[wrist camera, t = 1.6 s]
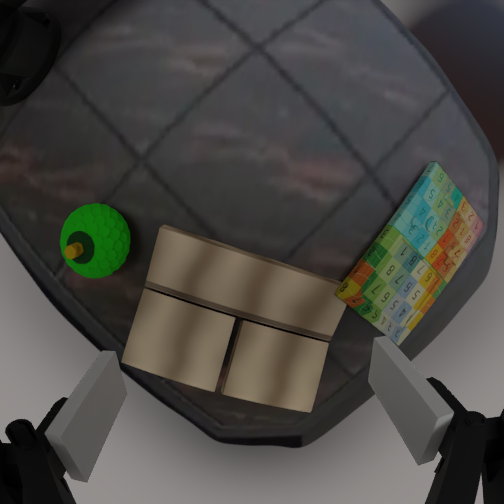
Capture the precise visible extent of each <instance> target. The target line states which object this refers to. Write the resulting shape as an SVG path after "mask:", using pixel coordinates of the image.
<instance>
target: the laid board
mask: <svg viewBox="0 0 504 504" xmlns="http://www.w3.org/2000/svg"><path fill="white" fill-rule="evenodd" d="M341 284H342V282H340V281H337V280H334V279H331V278H328V277H325V276H322V275H319V274H316V273H313V272H309V271H306V270H303V269H300V268H297V267H294V266H291V265H288V264H285V263H282V262H279V261H276V260H273V259H270V258H266V257H263V256H260V255H257V254H254V253H251V252H248V251H245V250H242V249H239V248H236V247H233V246H230V245H227V244H224V243H220V242H217V241H214V240H211V239H208V238H205V237H202V236H199V235H196V234H193V233H190V232H187V231H184V230H181V229H178V228H174V227H171V226H168V225H163V226H161V227H160V229H159V233H158V236H157V240H156V244H155V248H154V251H153V255H152V259H151V263H150V267H149V271H148V275H147V279H146V282H145V286H147V287H150V288H153V289H156V290H159V291H162V292H164V293H167V294H170V295H173V296H176V297H179V298H182V299H185V300H189V301H192V302H195V303H198V304H201V305H204V306H207V307H210V308H214V309H217V310H220V311H223V312H227V313H230V314H233V315H237V316H240V317H243V318H247V319H250V320H253V321H257V322H260V323H264V324H267V325H271V326H275V327H278V328H282V329H285V330H289V331H293V332H297V333H300V334H304V335H308V336H312V337H316V338H320V339H323V340H327V341H331V339H332V336H333V334H334V332H335V330H336V327H337V325H338V323H339V321H340V319H341V316H342V314H343V312H344V310H345V308H346V305H347V304H345V303H344V302H343V301H342V300H340V299H339V298H338V297H337V296H336V295H335V294H334V293H335V292H336V290H337V288H338V287H339V286H340V285H341Z"/></svg>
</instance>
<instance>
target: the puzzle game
mask: <svg viewBox="0 0 504 504" xmlns="http://www.w3.org/2000/svg"><path fill="white" fill-rule="evenodd" d="M483 227H484V223H483V222H482V220H481V219H480V217H479V216H478V215H477V213H476V212H475V210H474V209H473V208H472V206H471V205H470V203H469V202H468V201H467V199H466V198H465V197H464V195H463V194H462V193H461V191H460V190H459V189H458V187H457V186H456V185H455V184H454V182H453V181H452V180H451V178H450V177H449V176H448V175H447V174H446V172H445V171H444V170H443V169H442V167H441V166H440V165H439V164H438V163H437V162H436V161H432V162H430V163H429V164H428V166H427V167H426V169H425V170H424V172H423V173H422V175H421V176H420V177H419V179H418V180H417V182H416V183H415V185H414V186H413V188H412V189H411V191H410V192H409V194H408V195H407V196H406V198H405V199H404V201H403V202H402V204H401V205H400V206H399V208H398V209H397V211H396V212H395V213H394V215H393V216H392V218H391V219H390V220H389V222H388V223H387V224H386V226H385V227H384V229H383V230H382V231H381V233H380V234H379V235H378V237H377V238H376V239H375V241H374V242H373V243H372V245H371V246H370V247H369V248H368V250H367V251H366V252H365V254H364V255H363V256H362V258H361V259H360V260H359V261H358V263H357V264H356V265H355V266H354V268H353V270H352V271H351V272H350V274H349V275H348V276H347V277H346V279H345V280H344V281H343V282H342V284H341V285H340V286H339V287H338V288H337V290H336V292H335V293H334V294H335V295H336V296H337V297H338V298H339V299H340V300H342V301H343V302H344V303H345V304H347V305H348V306H349V307H350V308H352V309H353V310H354V311H355V312H357V313H358V314H359V315H360V316H362V317H363V318H364V319H365V320H367V321H368V322H369V323H370V324H372V325H373V326H374V327H375V328H377V329H378V330H379V331H380V332H382V333H383V334H384V335H385V336H388V337H389V338H390V339H391V340H392V341H393V342H394V343H395V344H396V345H398V346H399V345H400V344H401V343H402V341H403V340H404V339H405V338H406V337H407V335H408V334H409V333H410V332H411V331H412V329H413V328H414V327H415V326H416V324H417V323H418V322H419V321H420V319H421V318H422V317H423V316H424V314H425V313H426V312H427V310H428V309H429V308H430V307H431V305H432V304H433V303H434V301H435V300H436V299H437V297H438V296H439V295H440V293H441V292H442V290H443V289H444V288H445V286H446V285H447V283H448V282H449V281H450V279H451V278H452V276H453V275H454V273H455V272H456V270H457V269H458V268H459V266H460V265H461V263H462V261H463V260H464V258H465V257H466V255H467V254H468V252H469V251H470V249H471V248H472V246H473V244H474V243H475V241H476V239H477V238H478V236H479V234H480V233H481V231H482V229H483Z"/></svg>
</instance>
